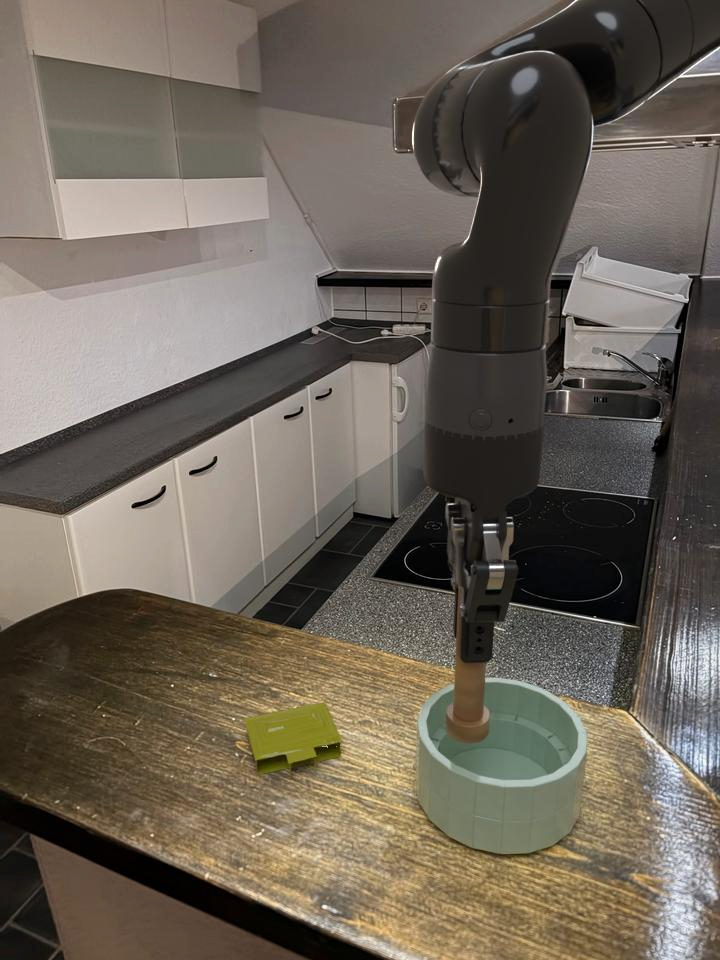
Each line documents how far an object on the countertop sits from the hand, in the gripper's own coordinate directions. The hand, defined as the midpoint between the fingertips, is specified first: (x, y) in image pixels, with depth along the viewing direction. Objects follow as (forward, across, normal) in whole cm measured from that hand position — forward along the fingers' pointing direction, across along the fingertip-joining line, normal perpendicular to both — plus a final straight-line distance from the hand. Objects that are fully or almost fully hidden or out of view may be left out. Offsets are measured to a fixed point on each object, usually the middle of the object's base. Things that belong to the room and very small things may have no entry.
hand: (471, 647), depth 54 cm
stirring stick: (+7, 0, 0) cm, 7 cm away
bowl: (+13, 0, -2) cm, 14 cm away
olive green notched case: (+14, +6, +14) cm, 20 cm away
